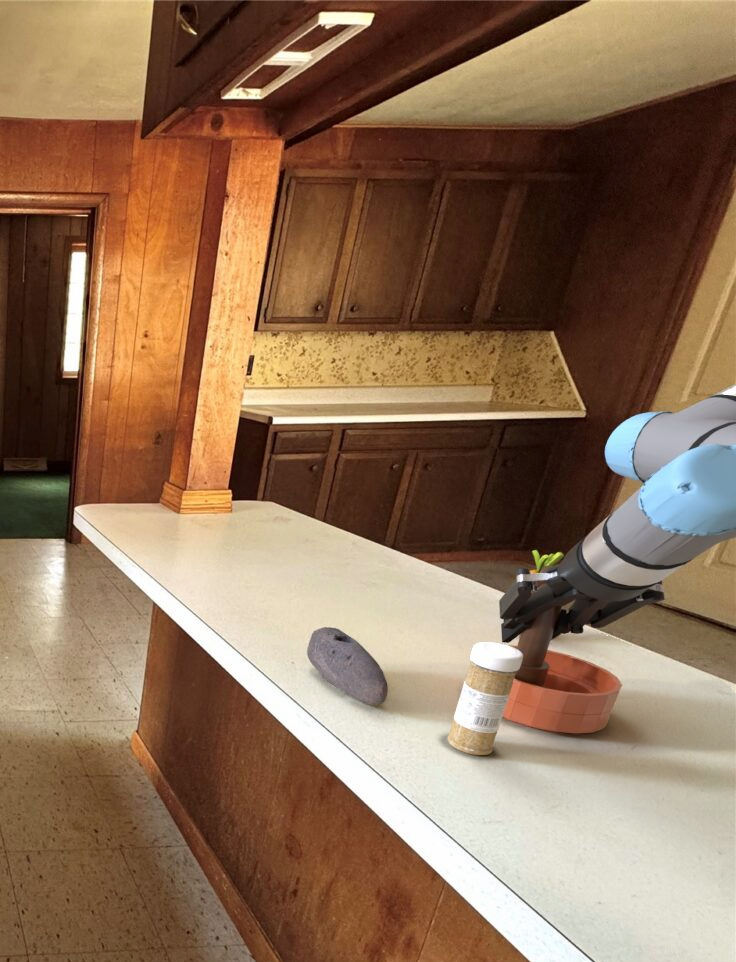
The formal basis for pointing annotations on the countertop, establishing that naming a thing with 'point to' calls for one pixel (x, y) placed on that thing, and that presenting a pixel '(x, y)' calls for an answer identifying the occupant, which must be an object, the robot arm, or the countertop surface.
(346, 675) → the perforated stone tool
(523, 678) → the brown pestle
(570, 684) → the bowl
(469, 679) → the sprinkles bottle
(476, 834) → the countertop surface
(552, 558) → the carrot
